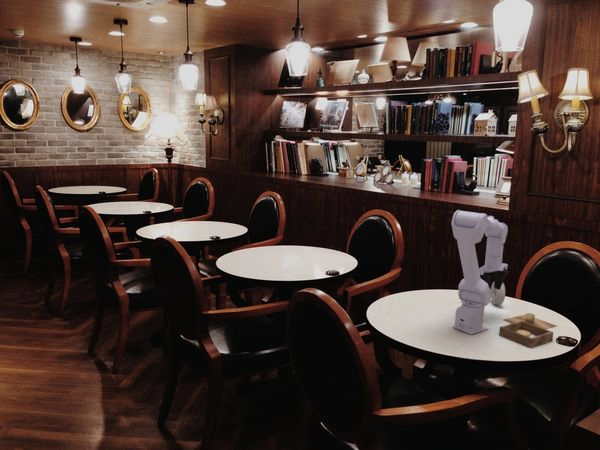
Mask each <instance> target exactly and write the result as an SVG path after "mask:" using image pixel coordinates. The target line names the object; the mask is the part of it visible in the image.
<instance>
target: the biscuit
mask: <svg viewBox="0 0 600 450" xmlns="http://www.w3.org/2000/svg"><path fill="white" fill-rule="evenodd" d="M516 332H517V333H520V334H522V335H525V336H527V337H531V334H530V332H528V331H526V330H517V331H516Z"/></svg>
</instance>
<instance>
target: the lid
mask: <svg viewBox="0 0 600 450" xmlns="http://www.w3.org/2000/svg"><path fill="white" fill-rule="evenodd" d="M502 321H504V322H506V323H508V324H512V323H515V322H519V321H524V322H526V323H529V324H532V325H535V326H538V327H540V328H543V329H546V330H548V329H551V328H556V327H557V325H556V324H553V323H550V322H547V321H545V320H543V319H539V318H537V317H536V314H534V313H529V312H528V313H526V314H522V315H518V316H516V315H515V316H514V317H508V318H503V319H502Z"/></svg>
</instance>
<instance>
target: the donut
mask: <svg viewBox="0 0 600 450" xmlns="http://www.w3.org/2000/svg"><path fill="white" fill-rule="evenodd" d="M490 290H491V301H492V303H493V304H494V305H496V306H501V305H502V304H503V303H504V301H505V298H506V286H505V283H504V282H503V283H502V286H501V289H500V290H498V289H495V288H494V281H493V282H492V284H491V286H490Z"/></svg>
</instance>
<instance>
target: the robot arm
mask: <svg viewBox="0 0 600 450" xmlns="http://www.w3.org/2000/svg"><path fill="white" fill-rule="evenodd" d="M451 219H452V220H451V224H450V225H451V228H452V234H453V238H454V239H455V240H456V241H457V248H458V251H459V257H460V262H461V268H462V274H463V277H464V278H462V279H461V280H460V282H459V283H458V292H457V295H458V298H459V300H461V303H462V304H461V305H460V306H459V307H457V308H456V310H455V318H454V325H452V328H454V329H455V330H459V331H461V332H464V333H466V334H469V335H473V334H477V333H481V332H484V331H487V330H489V328H488V327H486V326H484V319H485V318H484V317H485V316H484V315H485V306H488V305H489V304H490V303H491V301H492V299H491V287H490V282H491V280H492V277H493V282H494V288H495V289H498V290H500V289H501V286H502V283H503V284H504V280H505V279H506V277H507V276H508V275H509V271H508V266H509V265H508V264H507V263H503V254H504V253H503V252H504V246H505V245H504V244H505V243H506V239H507V235H508V231H509V229H508V225H507V224H506V223H504V222H499V220H498V219H495V217H494V216H493V215H488V214H487V213H484V212H482V213H480V212H474V211H473V212H472V211H465V210H460V209H457V210H456V211H455V212H454V213H453V216H452V218H451ZM484 235H485V237H487V239H486V247H485V248H486V250H485V261H484V265H483V266H481V267H479V262H478V256H477V251H476V250H477V249H476V245H475V244H478V243H480V242H481V241H482V239H483V237H484ZM489 273H493V275H490V274H489Z"/></svg>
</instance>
